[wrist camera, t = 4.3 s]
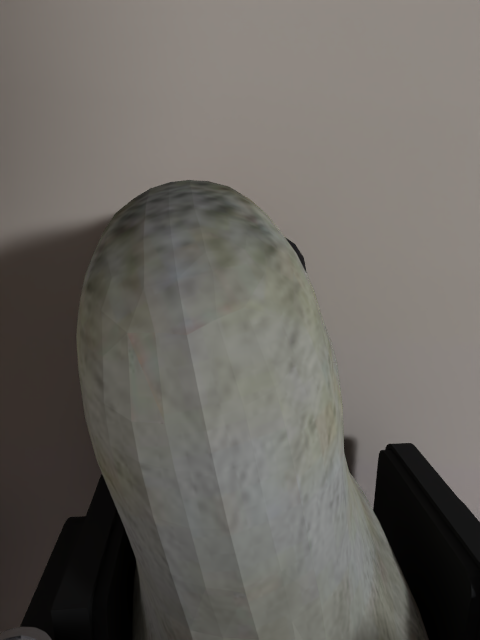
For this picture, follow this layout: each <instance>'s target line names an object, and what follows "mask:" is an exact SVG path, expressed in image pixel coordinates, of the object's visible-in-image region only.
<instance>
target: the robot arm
mask: <svg viewBox="0 0 480 640" xmlns="http://www.w3.org/2000/svg"><path fill="white" fill-rule="evenodd" d="M373 511H374V513H375V515H376V517H377V519H378V521H379V523H380V525H381V527H382V529H383V531H384V534H385V536H386V538H387V540H388V542H389V544H390V546H391V548H392V551H393V553H394V555H395V557H396V559H397V562H398V564H399V566H400V568H401V570H402V573H403V575H404V577H405V579H406V582H407V584H408V586H409V588H410V590H411V593H412V595H413V597H414V599H415V602H416V604H417V606H418V608H419V611H420V614H421V617H422V620H423V623H424V626H425V629H426V632H427V635H428V638H429V640H480V522H479V521H478V520H477V518H476V517H475V516H474V515H473V514H472V513H471V511H470V510H469V509H468V508H467V507H466V505H465V504H464V503H463V502H462V501H461V500H460V499H459V498H458V497H457V496H456V495H455V494H454V492H453V491H452V490H451V489H450V488H449V486H448V485H447V484H446V483H445V482H444V480H443V479H442V478H441V477H440V476H439V474H438V473H437V472H436V471H435V470H434V468H433V467H432V466H431V465H430V464H429V462H428V461H427V460H426V459H425V458H424V456H423V455H422V454H421V453H420V452H419V450H418V449H417V448H416V447H415V446H414V445H413V444H412V443H401V444H388V445H387V447H386V449H385V450H381V451H380V453H379V458H378V468H377V479H376V489H375V499H374V509H373ZM135 568H136V558H135V555H134V552H133V549H132V547H131V544H130V541H129V538H128V536H127V533H126V530H125V527H124V525H123V523H122V520H121V518H120V515H119V513H118V511H117V508H116V506H115V503H114V501H113V499H112V496H111V494H110V491H109V489H108V487H107V484H106V482H105V479H104V477H103V475H101V477H100V480H99V483H98V485H97V488H96V491H95V493H94V496H93V499H92V501H91V504H90V507H89V509H88V512H87V515H86V516H82V517H70V518H68V519H67V521H66V522H65V524H64V526H63V529H62V531H61V533H60V536H59V538H58V540H57V542H56V545H55V547H54V549H53V552H52V554H51V556H50V559H49V561H48V563H47V566H46V568H45V570H44V573H43V575H42V577H41V580H40V582H39V584H38V587H37V589H36V591H35V594H34V596H33V598H32V600H31V603H30V605H29V607H28V610H27V612H26V614H25V617H24V619H23V621H22V624H21V626H20V627H18V628H14V629H10V630H6V631H4V632H2V633H0V640H132V614H133V591H134V576H135Z"/></svg>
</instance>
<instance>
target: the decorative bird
mask: <svg viewBox="0 0 480 640" xmlns="http://www.w3.org/2000/svg"><path fill="white" fill-rule="evenodd" d="M76 340H77V357H78V372H79V379H80V386H81V393H82V400H83V407H84V414H85V419H86V423H87V427H88V431H89V434H90V438H91V442H92V445H93V449H94V453H95V457H96V460H97V463H98V465H99V467H100V470H101V472H102V475H103V477H104V479H105V482H106V484H107V487H108V489H109V491H110V494H111V496H112V499H113V501H114V503H115V506H116V508H117V511H118V513H119V515H120V518H121V520H122V523H123V525H124V527H125V530H126V533H127V536H128V538H129V541H130V544H131V547H132V549H133V552H134V555H135V558H136V568H135V576H134V591H133V614H132V640H429V638H428V635H427V632H426V629H425V626H424V623H423V620H422V617H421V614H420V611H419V608H418V606H417V604H416V602H415V599H414V597H413V595H412V593H411V590H410V588H409V586H408V584H407V582H406V579H405V577H404V575H403V573H402V570H401V568H400V566H399V564H398V562H397V559H396V557H395V555H394V553H393V551H392V548H391V546H390V544H389V542H388V540H387V538H386V536H385V534H384V531H383V529H382V527H381V525H380V523H379V521H378V519H377V517H376V515H375V513H374V511H373V509H372V508H371V506H370V504H369V502H368V500H367V498H366V497H365V495H364V493H363V492H362V490H361V489H360V487H359V485H358V484H357V482H356V481H355V479H354V478H353V476H352V475H351V474H350V472H349V470H348V466H347V462H346V458H345V454H344V436H343V407H342V398H341V390H340V383H339V376H338V369H337V362H336V358H335V355H334V351H333V347H332V344H331V340H330V338H329V335H328V333H327V330H326V328H325V325H324V322H323V320H322V316H321V313H320V310H319V306H318V303H317V300H316V296H315V293H314V290H313V288H312V285H311V283H310V281H309V278H308V276H307V274H306V268H305V262H304V258H303V256H302V254H301V253H300V251H299V250H298V248H297V247H296V245H295V244H294V243H292V242H291V241H290V240H288V239H287V238H285V237H284V236H283V234H282V233H281V232H280V231H279V229H278V228H277V227H276V226H275V224H274V223H273V222H272V221H271V219H270V218H269V217H268V216H267V215H266V214H265V213H264V212H263V211H262V210H261V209H260V208H259V207H258V206H256V205H255V204H254V203H253V202H252V201H251V200H250V199H248V198H247V197H245V196H243V195H242V194H240V193H238V192H237V191H235V190H233V189H232V188H230V187H228V186H224V185H220V184H216V183H212V182H208V181H194V180H186V181H177V182H170V183H166V184H163V185H160V186H157V187H154V188H150V189H149V190H147V191H146V192H144V193H142V194H141V195H139V196H137V197H136V198H134V199H133V200H131V201H130V202H129V203H128V204H127V205H125V206H124V207H123V208H122V209H120V210H119V211H118V212H117V213H116V214H115V215H114V217H113V218H112V220H111V221H110V223H109V224H108V226H107V227H106V229H105V230H104V232H103V234H102V236H101V238H100V241H99V243H98V245H97V247H96V249H95V252H94V254H93V256H92V259H91V261H90V264H89V266H88V269H87V272H86V274H85V278H84V283H83V288H82V293H81V298H80V304H79V311H78V321H77V334H76Z"/></svg>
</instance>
